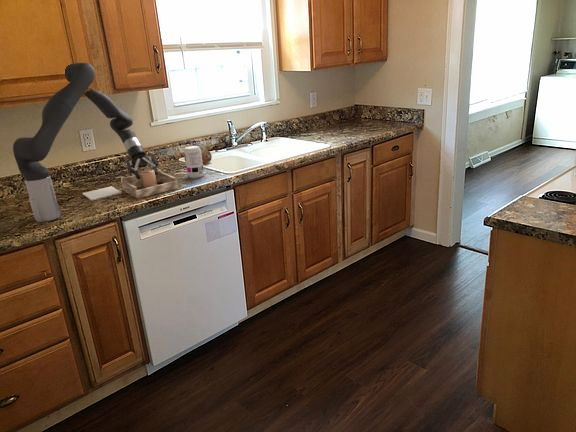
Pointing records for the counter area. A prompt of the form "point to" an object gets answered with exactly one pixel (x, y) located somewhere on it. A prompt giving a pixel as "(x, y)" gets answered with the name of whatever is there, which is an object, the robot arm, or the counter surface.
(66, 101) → the robot arm
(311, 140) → the counter surface
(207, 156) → the tin
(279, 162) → the counter surface
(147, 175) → the pot
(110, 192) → the tile
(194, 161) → the supplement can
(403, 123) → the counter surface
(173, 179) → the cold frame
